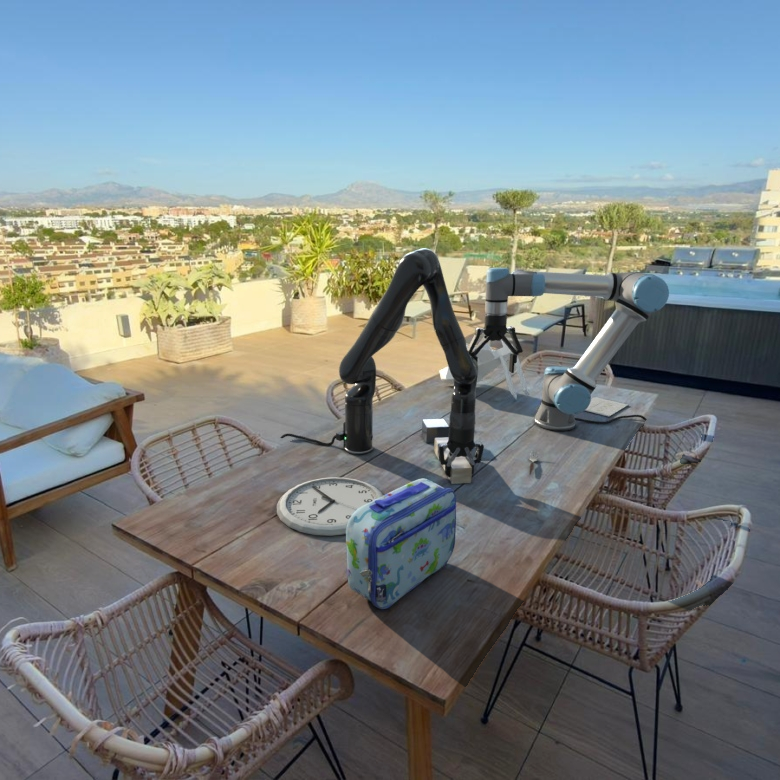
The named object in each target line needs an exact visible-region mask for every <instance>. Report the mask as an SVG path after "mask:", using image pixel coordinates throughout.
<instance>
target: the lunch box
mask: <svg viewBox="0 0 780 780" xmlns="http://www.w3.org/2000/svg"><path fill="white" fill-rule="evenodd" d="M456 498H457V496H456V493H455V491H454V489H452V488H450V487H443V486H441V485H439V484H438V483H436V482H433V481H432V480H430V479H427V478H423V477H422V478H418V479H416V480H413V481H411V482H409V483H406V484H405V485H402V486H400V487H398V488H396V489H394V490H392V491H390V492H388V493H386V494H384V496H382V497H380V498H378V499H376V500H374V501H372V502H370V503H368V504H366V505H364V506H362V507H360V508H358V509H357V510H356V511H355V512H354V513H353V514H352V515H351V517H350V519H349V521H348V524H347V528H346V534H345V547H346V549H345V550H346V572H347V573H346V575H347V584H348V587H349V589H350V590H351V591H353V592H355V593H357V594H358V595H361V596H363V597H364V598H365V599H367V600H368V601H369V602H371V604H372V605H373V606H374V607H376V608H377V609H380V610H386V609H389V608H391V607H393V605H395V603H397V602H398V601H399V600H400V599H402V598H403V597H404V596H405V595H408V593H410V592H411V591H412V590H413V589H415V588H416V587H417V586H419V585H420V584H421V583H423V581H424V580H425V579H427V578H428V577H430V576H431V575H433V574H435V573H437V572H438V571H439V570H441V569H442V568H443V567H444V566H446V564H447V563H448V562H449V560H450V559H451V556H452V555H453V552H454V548H455V544H456V531H457V530H456V529H457V499H456Z"/></svg>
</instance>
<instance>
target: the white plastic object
mask: <svg viewBox="0 0 780 780" xmlns="http://www.w3.org/2000/svg"><path fill="white" fill-rule="evenodd" d="M500 342H501V345H502V347H500V348H498V349H496V350H495V349H493V348H492V347H491V346H490V344H489V342H487V343H486V344H485V345H484V347H483V348H482V349H481V350H480V351H479V353H478V354H477V355H476V356H477V357H478V363H477V364H478V377H477V383H480V382H482V381H484V378H485V377H486V376H487V375H489V374H490V373H492V372H494V371H495V370H496V369H497V368H499V367H500V366H502V370H503V373H504V376H505V380H506V383H507V386H508V390H509V393H510V394H511V395H512V397H513V398H514V399H515V400H517V392H516V391H517V390H516V388H515V385H514V381H513V378H512V375H511V372H510V371H509V364H508V362H509V361H510V354H513V353H512V352H511V350H510V349H509V348H508V347H507V345H506V344H505V343H504V342H503V341H502V340H500ZM468 346H469V344H468V343H466V347H467V348H468ZM476 346H477V345H475V347H476ZM512 346H513V347H514V348H515V345H513V344H512ZM475 347H474V348H475ZM473 350H474V349H473ZM514 367H515V369H516V372H517V376H518V380H519V382H520V385H521V389H522V391H523V393H524V395H525V396H526V397H528V396H531V395H530V390H529V388H528V387H529V386H528V384H527V381H526V378H525V375H524V371H523V369H522V368H523V367H522V366H521V362H520V359H519V354H518V355H517V363H514ZM438 372H439V376H440V381H442V383H443V384H444V385H445V386H449V385H454V378H453V377H452V375H451V372H450V369H449V366H448V365H447V366H446V367H444V368H442V369H440V370H439V371H438Z"/></svg>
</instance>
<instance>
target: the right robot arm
mask: <svg viewBox="0 0 780 780" xmlns="http://www.w3.org/2000/svg"><path fill="white" fill-rule="evenodd" d="M485 279H486V280H485V303H484V314H485V315H484V327H483V328H479V327H476V328H475V329H474V335H472V336H473V337H472V338H471V340H470V342H469V344H468V348H467V350H468V352H469V355H470V356H471V357H473V358H474V359H475V360H476V362H477V363H478V357H477V356H476V355H477V354H478V353H479V351H480V350H481V349H482V348H483V347H484V345H485V344H487V343H489V342H490V341H491V342H494V341H497V342H499V341H500V342H502V341H503V342H504V343H505V344H506V345H507V347H508V348H509V349H510V350H511V352H512V353H513V354H510V360H509V361H508V368H509V371H510V374H514V373H515V363H517V355H518V356H519V354H521V353H523V352H524V349H523V348H522V345H521V343H520V341H519V338H518V336H517V334H516V328H515V327H514V326H508V327H507V324H508V323H507V321H508V315H507V313H508V303H509V302H508V301H509V297H532V298H534V297H542V296H543V295H544V294H548V295H549V294H550V295H551V294H552V295H564V296H565V295H566V296H582V297H583V296H585V297H597V298H598V297H600V298H602V299H604V301H613V302H614V304H615V305H614V306H615V310H614V311H613V312H612V314H611V316H610V317H609V318H608V319H607V321H606V323H604V325H603V327H602V328H601V329H600V331H599V332H598V333H597V334H596V336H595V338H594V339H593V340H592V342H591V343H590V345H589V346H588V347H587V348H586V350H585V352H584V353H583V354H582V356H581V357H580V358H579V360H578V362H577V363H575V365H574V366H573V367H568V366H547V367H546V368H545V369H544V373H543V381H542V382H543V384H542V394H541V402H540V405H539V406H536V407H535V411H536V413H535V416H534V424H535V425H536V426H537V427H539V428H542V429H544V430H549V431H556V432H567V431H572V430H574V429H575V428H576V421H577V422H583V423H588V424H589V423H590V424H598V425H605V424H610V423H612V422H614V421H617V420H620V419H629V418H630V419H631V418H641V419H643V420H644V421H647V418H646V417H645V416H644V415H641V414H627V415H620V416H616V417H614V418H611V419H609V420H603V421H601V420H590V419H585V418H584V419H583V418H579V417H576V416H575V415H578V414H581V413H583V412H585V411H584V410H586V409H587V408H588V406H589V404H590V402H591V399H592V394H593V392H594V391H595V389H597V383H596V382H597V379H598V378H599V377H600V375H601V374H602V373H603V371H604V370H605V369H606V367H607V366H608V365H609V363H610V362H611V360H612V359H613V358H614V356H615V355H616V354H617V353H618V351H619V350H620V348H621V347H622V345H623V344H624V343H625V342H626V340H627V339H628V337H630V336H631V333H632V332H633V331H634V330H635V328H636V327H637V325H639V324H640V323H642V322H646V321H647V320H648V319H649V317H650V316H651V315H652V313H655V312H658V311H660V310H661V309H662V308H663V307H664V306H666V304H667V302H668V300H669V297H670V291H669V286H668V283H667V282H666V281H665V279H663V278H661V277H659V276H657V275H655V274H652V273H643V272H639V271H631V272H608V273H606V274H587V273H585V274H584V273H569V272H568V273H567V272H553V271H552V272H551V271H531V270H524V269H516V270H513V271H512V272H511V273H510V269H509V268H508V267H490V268H488V269H487V272H486V278H485ZM507 333H508V334H509V335H510V337H511V341H512V342H513V343H511V342H510V341H509V340H508V338H507V337H506V334H507ZM483 334H484V335H483ZM482 335H483V337H482V338H481V339H480V337H481V336H482ZM479 339H480V341H479ZM501 340H502V341H501ZM478 341H479V342H478ZM477 343H478V344H477ZM513 344H514V345H513ZM512 345H513V346H514V347H513V346H512ZM475 346H476V347H475ZM474 347H475V348H474ZM473 349H474V350H473Z"/></svg>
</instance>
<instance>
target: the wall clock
mask: <svg viewBox="0 0 780 780" xmlns="http://www.w3.org/2000/svg"><path fill="white" fill-rule="evenodd" d="M384 495H385V494H384V493H383V492H382V491H381V490H380V489H379V488H377V487H376V486H374V485H372V484H371V483H369V482H365V481H362V480H359V479H355V478H349V477H338V476H337V477H335V476H333V477H332V476H331V477H322V478H317V479H312V480H307V481H305V482H302V483H299V484H297V485H295V486H293V487H292V488H290V489H288V490H287V491H286V492H285V493H284V494H283V495H281V496H280V498H279V499H278V502H277V503H276V515H277V517H278V518H279V520H280V521H281V522H282V523H283V524H285V525H286V526H287V527H288V528H290V529H293V530H295V531H297V532H299V533H303V534H308V535H312V536H327V537H328V536H329V537H331V536H332V537H333V536H342V535H346V528H347V524H348V521H349V519H350V517H351V515H352V514H353V513H354V512H355V511H356V510H357V509H358V508H360V507H362V506H364V505H366V504H368V503H370V502H372V501H374V500H376V499H378V498H380V497H382V496H384Z"/></svg>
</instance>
